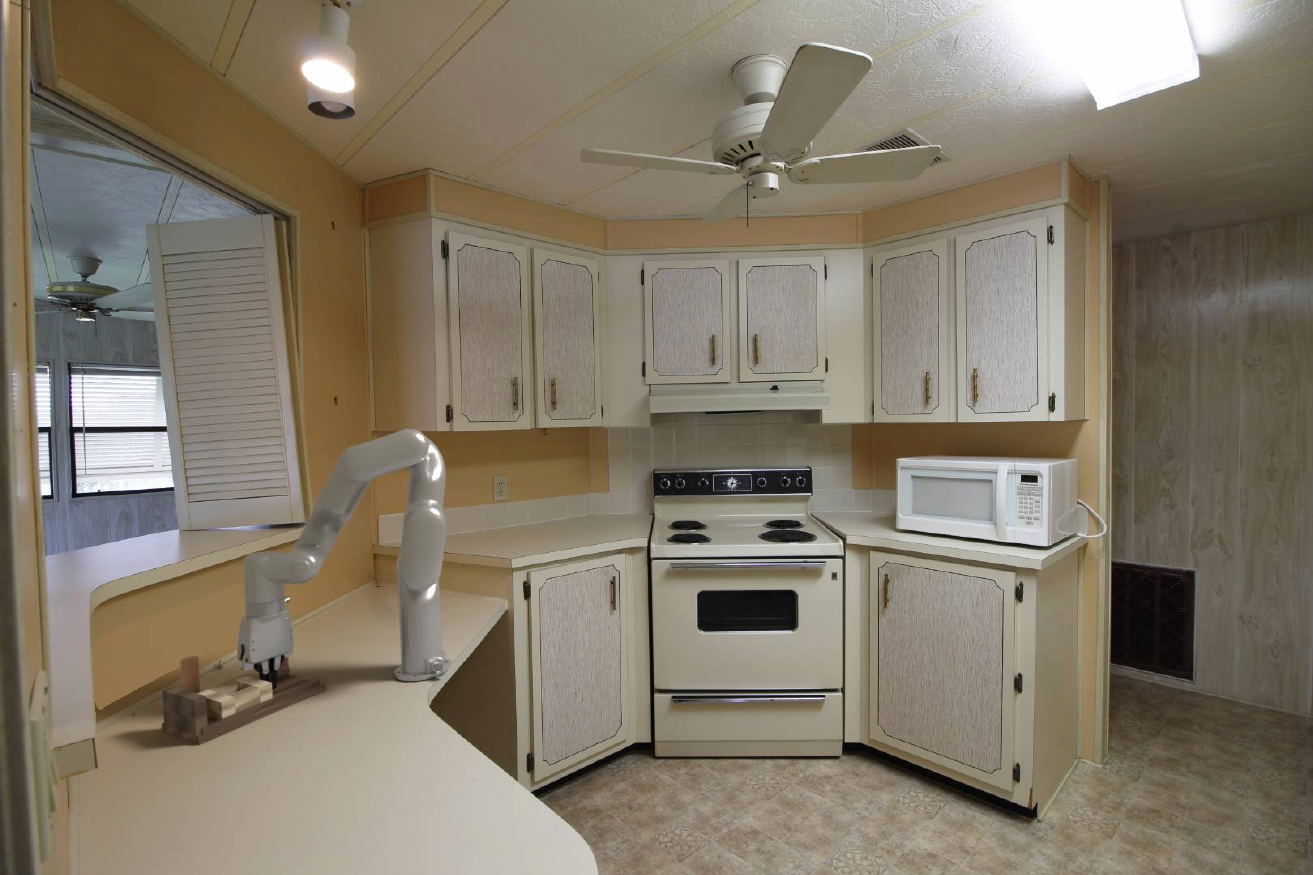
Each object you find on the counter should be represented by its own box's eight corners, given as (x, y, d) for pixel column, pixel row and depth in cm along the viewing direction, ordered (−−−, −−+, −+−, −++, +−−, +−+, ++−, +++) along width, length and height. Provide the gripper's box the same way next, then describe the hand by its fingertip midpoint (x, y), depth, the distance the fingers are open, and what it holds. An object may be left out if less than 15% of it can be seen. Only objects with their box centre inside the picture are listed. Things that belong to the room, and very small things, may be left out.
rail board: (326, 689, 139) (324, 653, 139) (199, 744, 116) (197, 701, 116) (289, 680, 146) (287, 645, 145) (162, 730, 122) (160, 689, 122)
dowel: (203, 701, 136) (201, 657, 135) (187, 707, 133) (184, 662, 133) (195, 698, 137) (193, 655, 137) (179, 704, 134) (177, 660, 134)
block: (272, 700, 130) (271, 682, 130) (222, 721, 121) (221, 702, 121) (246, 693, 135) (245, 675, 135) (195, 712, 126) (194, 694, 126)
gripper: (288, 596, 143) (292, 673, 143) (219, 615, 129) (223, 699, 130) (308, 600, 139) (311, 678, 140) (239, 619, 126) (243, 705, 126)
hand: (269, 688), depth 135 cm, fingers closed
